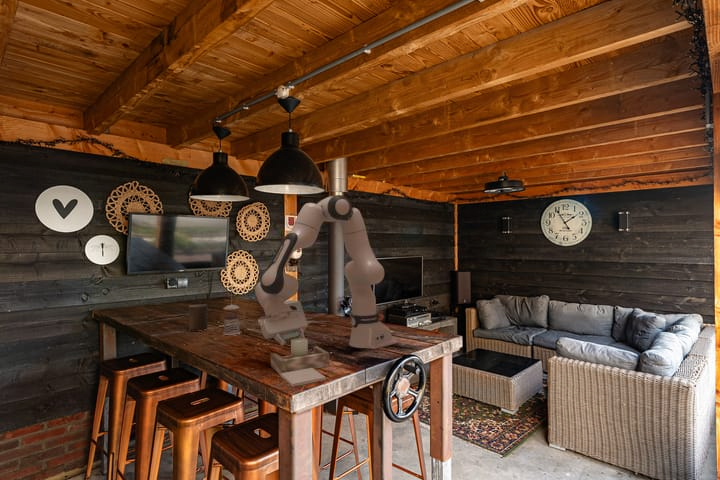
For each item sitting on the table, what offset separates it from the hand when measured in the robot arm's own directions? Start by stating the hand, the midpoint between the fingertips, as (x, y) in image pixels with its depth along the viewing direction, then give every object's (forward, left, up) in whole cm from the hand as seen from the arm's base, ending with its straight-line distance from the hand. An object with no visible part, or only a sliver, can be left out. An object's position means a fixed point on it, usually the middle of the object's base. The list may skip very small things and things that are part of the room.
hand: (293, 342), depth 151 cm
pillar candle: (+24, -87, -9) cm, 91 cm away
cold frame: (-1, +4, -9) cm, 9 cm away
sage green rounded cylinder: (-1, +3, -9) cm, 9 cm away
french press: (+9, -67, -9) cm, 69 cm away
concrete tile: (+3, +17, -9) cm, 19 cm away
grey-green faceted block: (-13, -45, -9) cm, 48 cm away
